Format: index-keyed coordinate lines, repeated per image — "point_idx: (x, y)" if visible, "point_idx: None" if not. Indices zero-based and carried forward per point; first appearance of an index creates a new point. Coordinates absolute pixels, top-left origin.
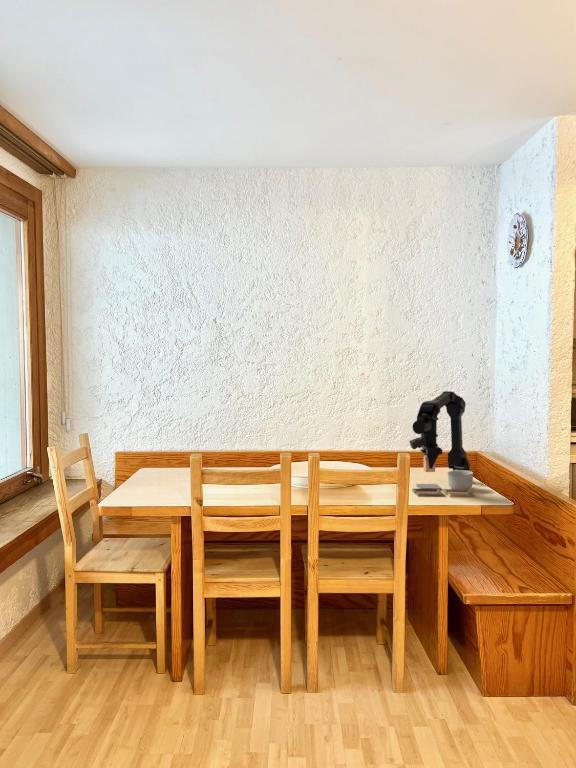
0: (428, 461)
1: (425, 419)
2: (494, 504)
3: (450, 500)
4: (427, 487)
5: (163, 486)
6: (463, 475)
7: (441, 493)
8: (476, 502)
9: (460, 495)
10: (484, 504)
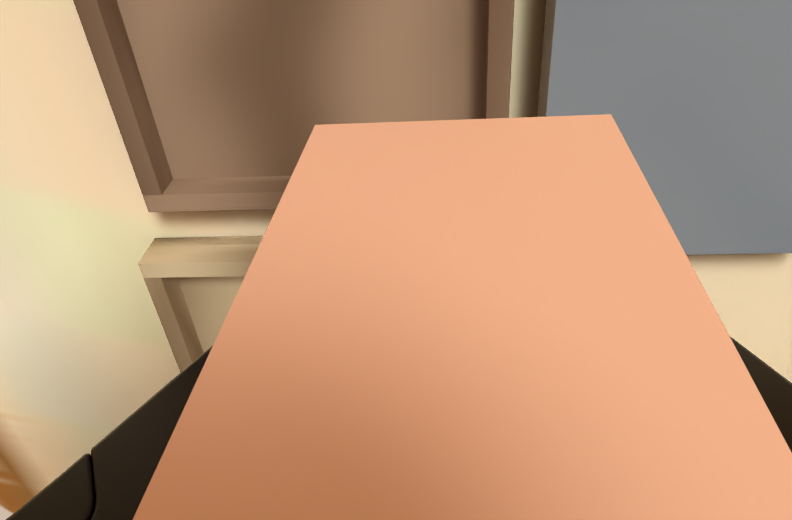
0: (160, 442)
1: None
2: (48, 483)
3: (49, 222)
4: (604, 72)
5: None
6: None
7: (219, 189)
8: (63, 403)
9: (178, 352)
10: (12, 433)
